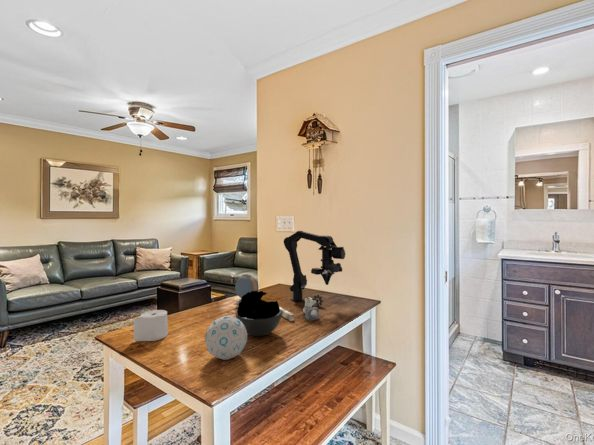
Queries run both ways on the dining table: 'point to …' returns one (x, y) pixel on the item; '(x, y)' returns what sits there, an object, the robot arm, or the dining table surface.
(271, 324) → the bowl of black rocks
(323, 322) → the dining table surface
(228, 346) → the puzzle ball
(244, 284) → the alarm clock
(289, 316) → the fence
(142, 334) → the toilet tissue
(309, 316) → the pipe stand
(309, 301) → the valve
